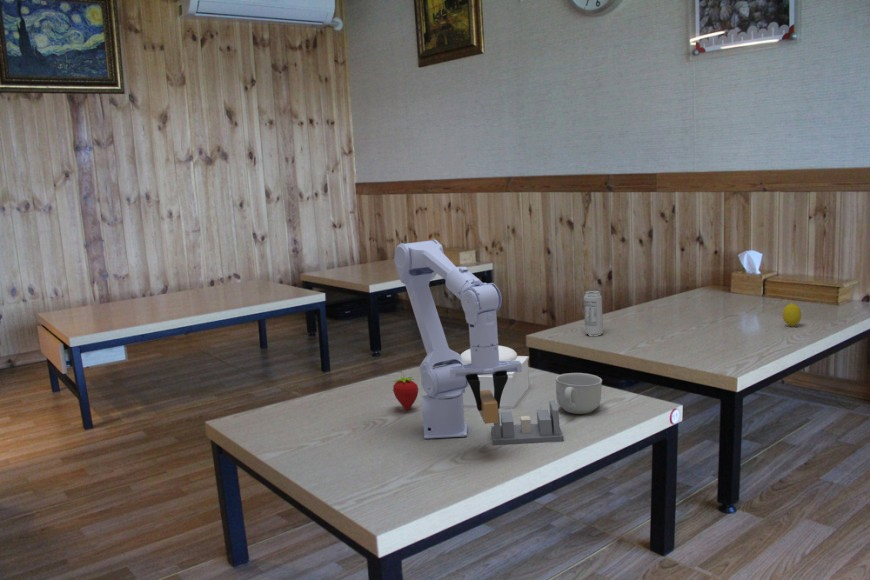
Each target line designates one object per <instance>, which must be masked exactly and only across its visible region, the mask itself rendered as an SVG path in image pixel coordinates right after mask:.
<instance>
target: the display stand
mask: <svg viewBox="0 0 870 580" xmlns="http://www.w3.org/2000/svg"><path fill="white" fill-rule="evenodd" d="M548 402H549V409H537V410H536V422H537V423H531V422H532V421H531V417H530V416H531V415H524V416H523V415H522V416H520V424H514V418H513V412H512V411H500V409H498V419H499V422H498V423H493V425H491V426H490V430H491V440H492V445H493V446H498V445H514V444H515V445H516V444H533V443H550V442H554V443H555V442H564V440H565V438H564V434H563V431H562V428H561V427H560V410H559V407H558V404H557V403H556V400H554V399H553V400H549V401H548Z"/></svg>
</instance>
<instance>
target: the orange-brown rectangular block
mask: <svg viewBox="0 0 870 580" xmlns="http://www.w3.org/2000/svg"><path fill="white" fill-rule="evenodd" d="M480 398H481V409H482V410H481V411H478V412H479V414H480V416H481V418H482V420H483V423H484V425H485V424H486V425H487V424H494V423H498V422H499V419H498V403H497V401H496V400H495V398H494V396H493V394H492V393H491V391H490V390H483V391H480Z"/></svg>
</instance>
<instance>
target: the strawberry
mask: <svg viewBox="0 0 870 580" xmlns="http://www.w3.org/2000/svg"><path fill="white" fill-rule="evenodd" d="M400 374H403V373H402V371H401V372H400ZM400 377H401V378H399V379H396V380H393V382H394V384H393V388H392V391H393V394H394V397H395V399H396V400H397V401H398V403H399V404H400V405H401V406H402V407H403V408H404V410H406V411H409V410H411V408H412V407H413V405H414V404H415V402H416V399H417V398H418V394H419V386H418V385H417V383H416V382H415V381H414V380H415V378H413V376H409V377H405V376H400Z"/></svg>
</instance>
